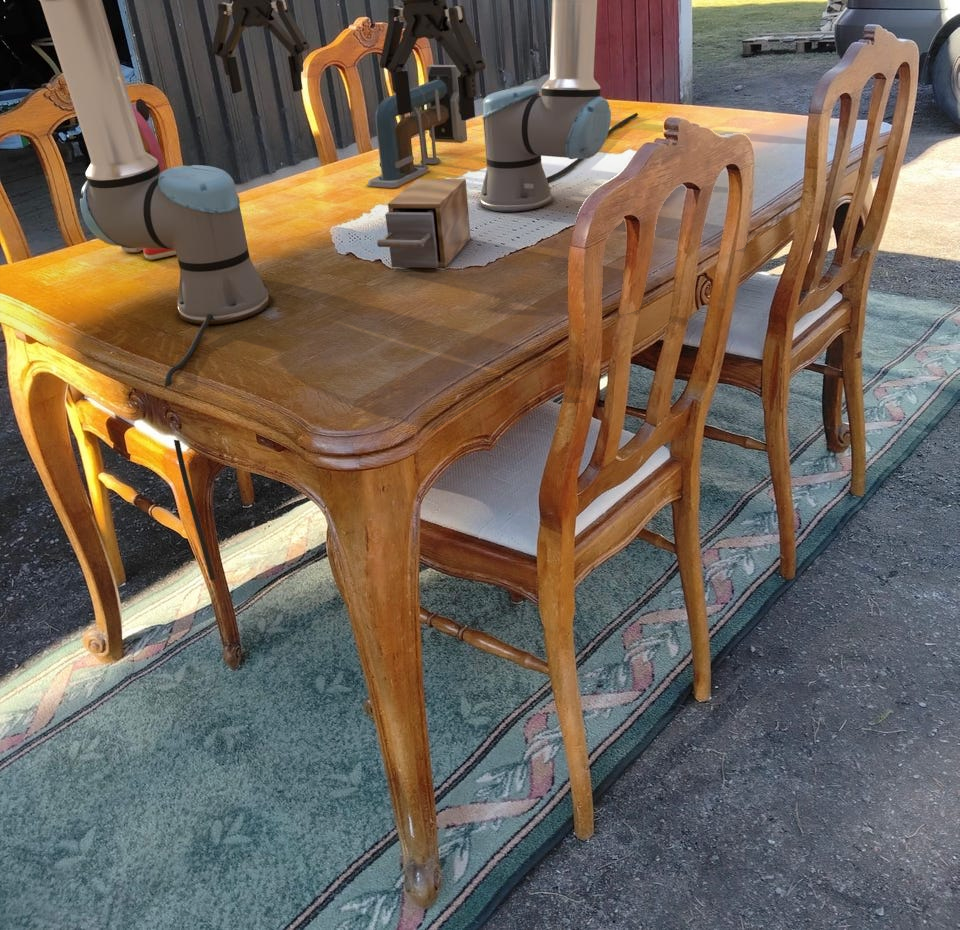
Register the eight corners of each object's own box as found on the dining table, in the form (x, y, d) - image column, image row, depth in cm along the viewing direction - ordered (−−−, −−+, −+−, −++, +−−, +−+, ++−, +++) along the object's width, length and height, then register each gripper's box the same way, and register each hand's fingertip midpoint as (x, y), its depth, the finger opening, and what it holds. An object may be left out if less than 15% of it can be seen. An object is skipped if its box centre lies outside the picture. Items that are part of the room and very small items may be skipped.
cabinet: (445, 267, 176) (439, 203, 170) (395, 265, 179) (387, 203, 173) (470, 238, 190) (465, 178, 184) (423, 237, 192) (417, 178, 187)
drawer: (426, 279, 169) (420, 224, 164) (380, 278, 171) (373, 223, 166) (460, 240, 186) (456, 190, 181) (418, 240, 188) (413, 190, 183)
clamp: (395, 188, 226) (384, 92, 216) (364, 185, 230) (352, 91, 219) (468, 152, 252) (461, 65, 241) (439, 150, 256) (431, 64, 245)
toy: (206, 251, 195) (170, 95, 179) (161, 266, 188) (121, 105, 173) (151, 235, 208) (114, 87, 192) (108, 248, 202) (66, 97, 186)
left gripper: (315, -33, 183) (331, 86, 193) (199, -25, 190) (221, 89, 200) (297, -30, 177) (316, 93, 187) (178, -22, 183) (203, 96, 194)
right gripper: (346, -24, 153) (365, 116, 164) (470, -27, 139) (482, 126, 150) (378, -30, 157) (395, 106, 168) (501, -33, 144) (510, 115, 155)
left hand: (267, 91), depth 194 cm, fingers open, 13 cm apart
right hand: (436, 116), depth 159 cm, fingers open, 13 cm apart
